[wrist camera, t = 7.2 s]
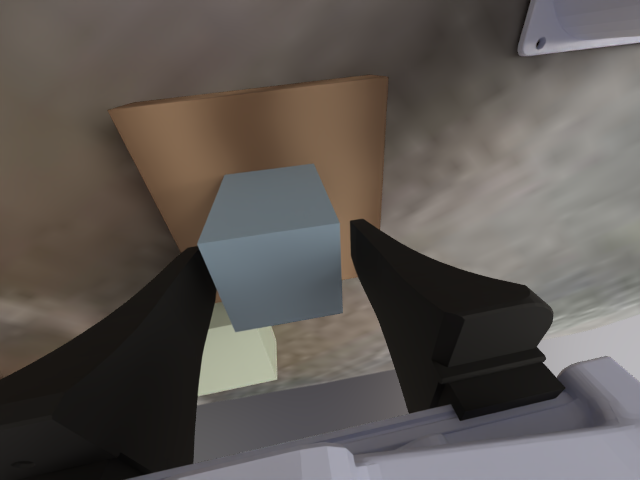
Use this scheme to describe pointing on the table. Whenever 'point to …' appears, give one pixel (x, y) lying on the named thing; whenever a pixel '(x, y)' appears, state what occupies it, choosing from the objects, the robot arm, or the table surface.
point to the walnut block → (261, 147)
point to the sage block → (236, 355)
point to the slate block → (274, 247)
